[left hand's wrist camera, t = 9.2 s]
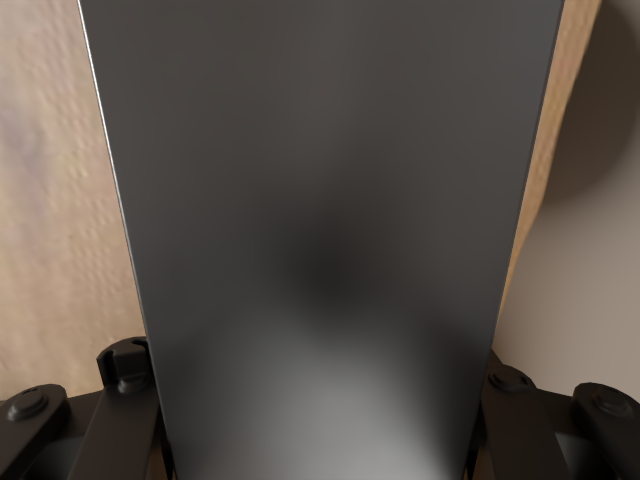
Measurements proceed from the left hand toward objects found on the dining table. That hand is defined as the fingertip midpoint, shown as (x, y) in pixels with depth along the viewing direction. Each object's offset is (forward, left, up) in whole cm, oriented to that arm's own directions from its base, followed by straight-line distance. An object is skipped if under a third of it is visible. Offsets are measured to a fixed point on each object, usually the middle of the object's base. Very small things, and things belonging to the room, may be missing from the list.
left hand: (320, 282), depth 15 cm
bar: (+11, +3, -1) cm, 12 cm away
